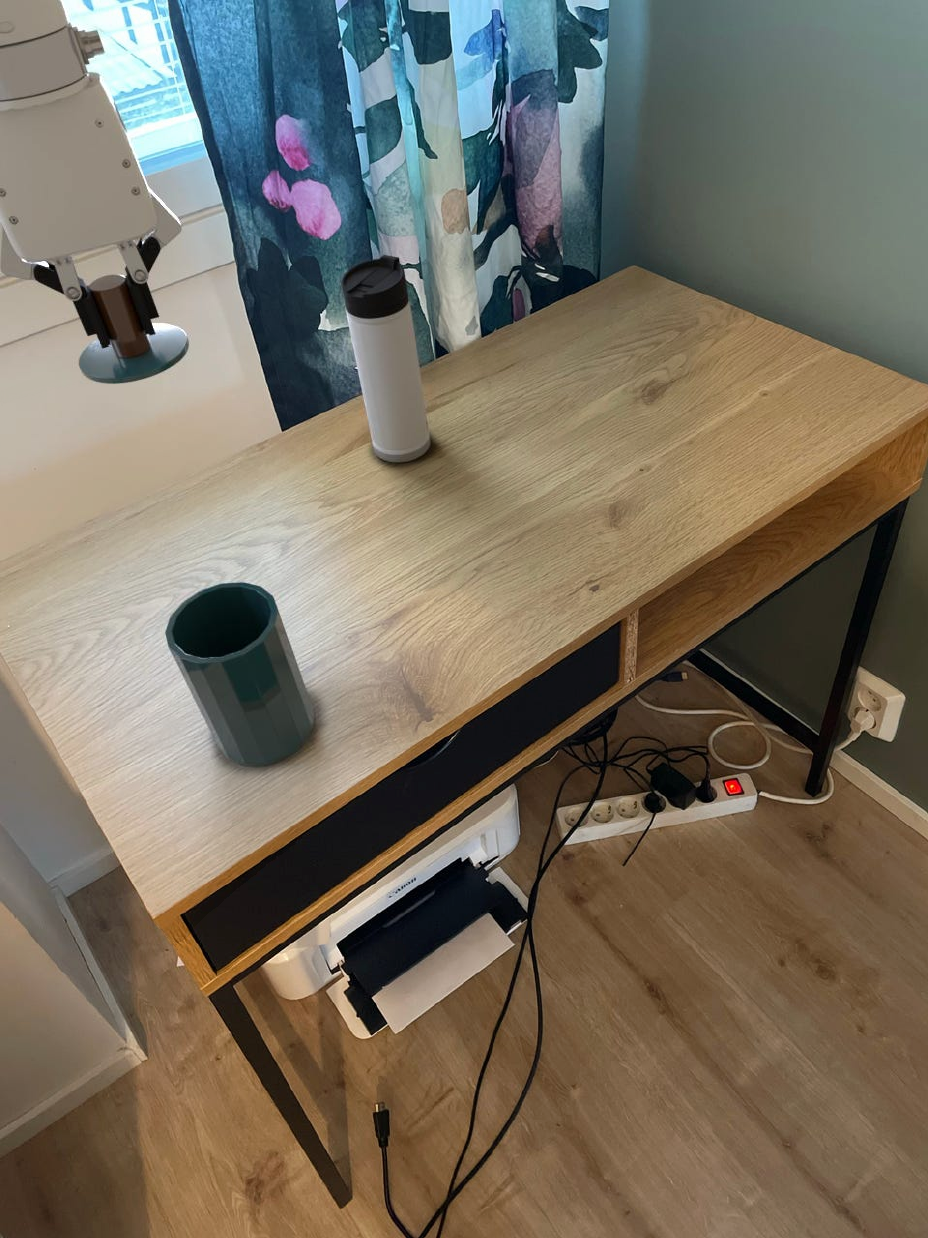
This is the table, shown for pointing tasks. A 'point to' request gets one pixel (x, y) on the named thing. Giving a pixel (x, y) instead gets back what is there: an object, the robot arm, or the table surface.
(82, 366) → the lid
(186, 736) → the table surface
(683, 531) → the table surface
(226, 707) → the pot
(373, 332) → the travel mug
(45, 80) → the robot arm
